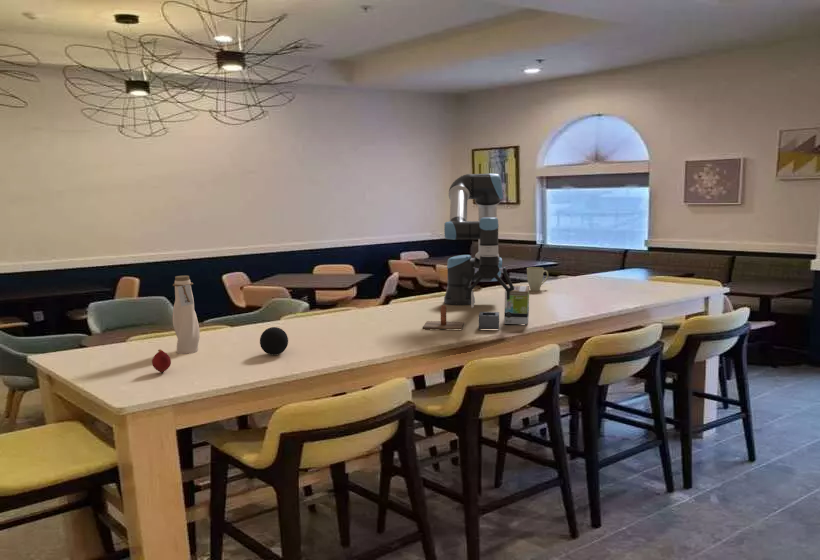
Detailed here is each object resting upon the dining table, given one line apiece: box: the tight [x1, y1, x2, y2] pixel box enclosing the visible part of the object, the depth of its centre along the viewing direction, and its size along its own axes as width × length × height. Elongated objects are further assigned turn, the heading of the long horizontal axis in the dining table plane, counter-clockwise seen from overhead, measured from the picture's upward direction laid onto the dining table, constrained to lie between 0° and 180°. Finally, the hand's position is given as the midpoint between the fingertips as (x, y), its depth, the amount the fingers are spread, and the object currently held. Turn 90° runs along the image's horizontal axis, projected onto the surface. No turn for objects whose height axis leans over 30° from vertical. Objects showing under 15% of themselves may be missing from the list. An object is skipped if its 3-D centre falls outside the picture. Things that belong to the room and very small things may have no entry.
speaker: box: [259, 326, 289, 356], centre depth 243 cm, size 10×10×10 cm
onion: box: [151, 348, 172, 373], centre depth 223 cm, size 6×6×8 cm
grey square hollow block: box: [478, 311, 500, 330], centre depth 278 cm, size 8×8×6 cm
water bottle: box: [172, 275, 201, 354], centre depth 248 cm, size 10×9×28 cm
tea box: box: [503, 285, 530, 325], centre depth 289 cm, size 15×10×15 cm, turn 168°
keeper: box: [421, 304, 465, 331], centre depth 282 cm, size 12×16×9 cm
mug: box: [526, 266, 549, 292], centre depth 366 cm, size 11×10×12 cm
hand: (489, 307), depth 277 cm, fingers open, 13 cm apart
